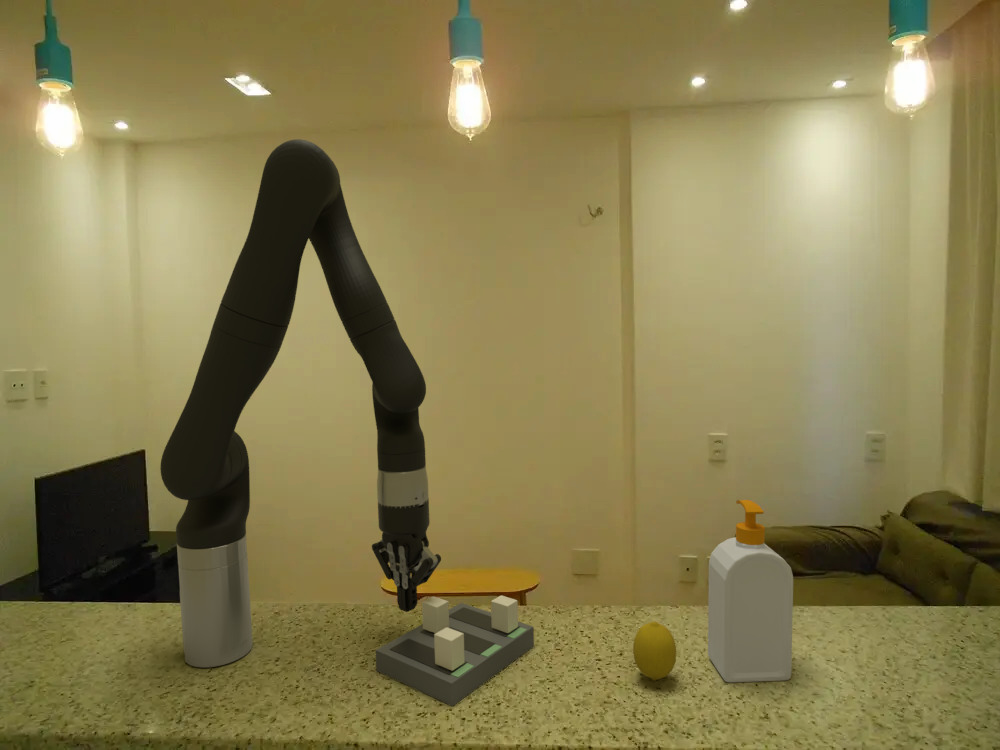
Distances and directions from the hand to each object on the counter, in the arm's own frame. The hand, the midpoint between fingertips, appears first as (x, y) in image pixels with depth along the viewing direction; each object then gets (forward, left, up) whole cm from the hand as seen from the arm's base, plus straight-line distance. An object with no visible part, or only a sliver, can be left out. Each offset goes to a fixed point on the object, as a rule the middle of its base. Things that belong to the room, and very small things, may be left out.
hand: (407, 608), depth 98 cm
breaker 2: (+14, +6, -1) cm, 15 cm away
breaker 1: (+14, -6, -1) cm, 15 cm away
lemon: (+35, +11, -5) cm, 37 cm away
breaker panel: (+10, 0, -5) cm, 11 cm away
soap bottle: (+44, +21, -5) cm, 49 cm away
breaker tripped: (+6, 0, -1) cm, 6 cm away
